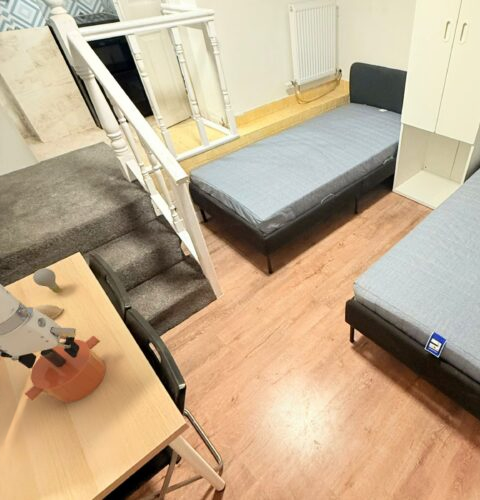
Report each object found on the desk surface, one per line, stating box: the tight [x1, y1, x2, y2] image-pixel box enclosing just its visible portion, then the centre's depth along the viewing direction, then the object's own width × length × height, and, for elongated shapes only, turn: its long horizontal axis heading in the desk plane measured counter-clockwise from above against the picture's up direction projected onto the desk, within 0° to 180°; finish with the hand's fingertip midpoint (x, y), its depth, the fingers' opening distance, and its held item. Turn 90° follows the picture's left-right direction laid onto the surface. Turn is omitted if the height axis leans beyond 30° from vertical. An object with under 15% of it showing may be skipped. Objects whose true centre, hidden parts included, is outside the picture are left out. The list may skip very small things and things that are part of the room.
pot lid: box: [30, 339, 90, 390], centre depth 81 cm, size 13×13×7 cm
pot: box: [24, 335, 106, 403], centre depth 86 cm, size 12×18×8 cm
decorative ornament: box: [26, 304, 64, 321], centre depth 102 cm, size 4×8×5 cm, turn 99°
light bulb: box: [32, 267, 61, 293], centre depth 108 cm, size 6×6×10 cm
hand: (55, 357), depth 81 cm, fingers open, 9 cm apart
